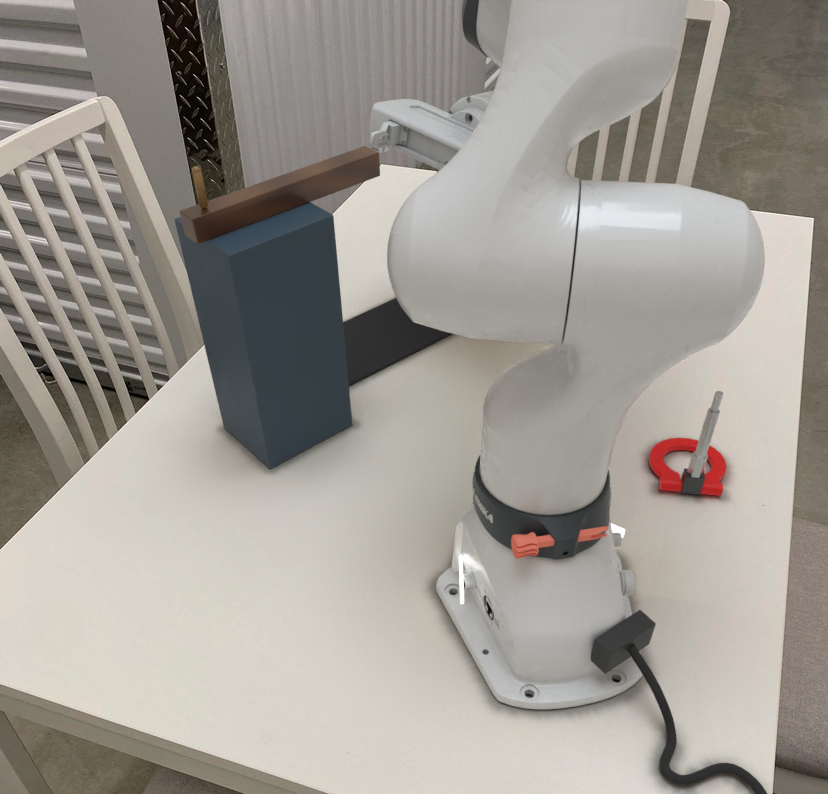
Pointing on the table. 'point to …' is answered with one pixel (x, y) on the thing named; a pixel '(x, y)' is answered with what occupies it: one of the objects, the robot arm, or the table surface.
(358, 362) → the mat
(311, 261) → the stand
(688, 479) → the tow hook
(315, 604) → the table surface
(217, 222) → the hanger bar
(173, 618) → the table surface
